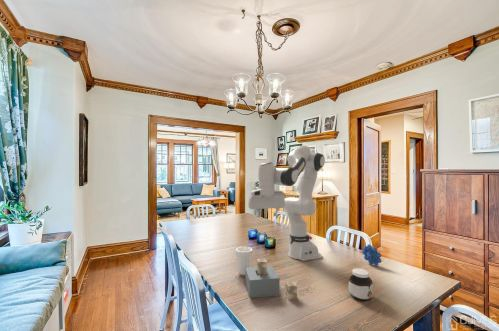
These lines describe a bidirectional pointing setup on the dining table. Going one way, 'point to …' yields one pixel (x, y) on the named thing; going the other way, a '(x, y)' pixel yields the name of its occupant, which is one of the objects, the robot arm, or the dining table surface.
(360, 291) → the spread jar
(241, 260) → the foam cup
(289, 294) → the short pin
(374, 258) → the grapes
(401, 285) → the dining table surface
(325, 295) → the dining table surface
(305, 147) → the robot arm
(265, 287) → the hole block
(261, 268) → the long pin
